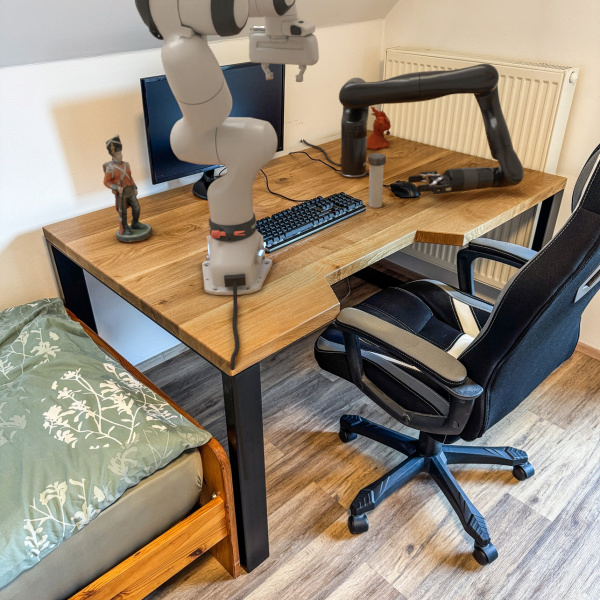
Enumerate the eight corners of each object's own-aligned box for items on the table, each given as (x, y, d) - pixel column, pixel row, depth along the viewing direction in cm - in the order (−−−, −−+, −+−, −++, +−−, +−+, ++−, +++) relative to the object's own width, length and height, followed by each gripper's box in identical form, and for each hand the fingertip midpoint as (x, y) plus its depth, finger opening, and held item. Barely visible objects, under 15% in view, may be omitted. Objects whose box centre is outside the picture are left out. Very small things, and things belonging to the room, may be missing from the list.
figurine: (143, 244, 164) (122, 142, 148) (110, 242, 166) (86, 141, 150) (158, 228, 173) (139, 130, 157) (126, 227, 175) (105, 130, 159)
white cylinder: (368, 207, 181) (369, 159, 173) (368, 202, 185) (370, 155, 176) (382, 207, 180) (384, 159, 172) (382, 202, 184) (384, 155, 176)
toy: (397, 145, 235) (399, 108, 227) (362, 152, 228) (362, 115, 220) (381, 138, 244) (382, 102, 236) (346, 145, 238) (346, 108, 230)
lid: (367, 165, 173) (368, 158, 172) (368, 160, 178) (368, 153, 176) (385, 165, 172) (385, 158, 171) (385, 160, 177) (386, 153, 176)
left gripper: (242, 27, 152) (246, 80, 159) (310, 29, 144) (312, 85, 152) (253, 23, 157) (257, 76, 164) (320, 25, 149) (321, 80, 156)
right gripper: (453, 161, 187) (406, 165, 185) (471, 176, 175) (421, 180, 173) (451, 183, 191) (405, 187, 189) (468, 198, 179) (419, 203, 177)
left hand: (284, 80), depth 158 cm, fingers open, 8 cm apart
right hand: (412, 184), depth 181 cm, fingers open, 8 cm apart
